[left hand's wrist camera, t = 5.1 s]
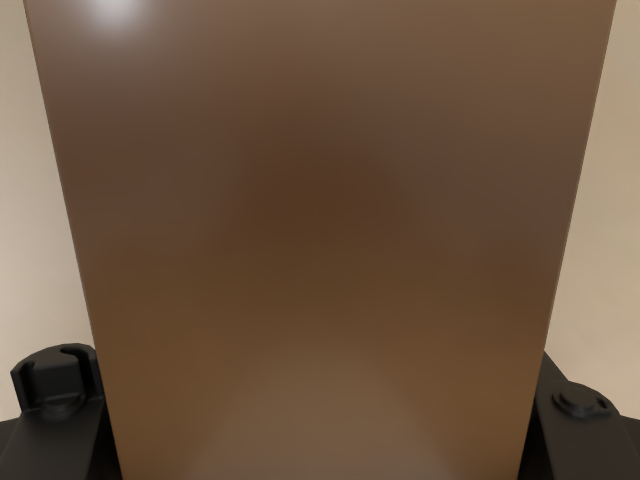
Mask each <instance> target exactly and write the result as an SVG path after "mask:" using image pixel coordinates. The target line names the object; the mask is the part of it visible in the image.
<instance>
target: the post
mask: <svg viewBox="0 0 640 480" xmlns="http://www.w3.org/2000/svg"><path fill="white" fill-rule="evenodd" d="M23 3H24V8H25V13H26V17H27V22H28V27H29V32H30V37H31V41H32V46H33V51H34V56H35V61H36V65H37V70H38V75H39V80H40V85H41V89H42V94H43V99H44V104H45V109H46V114H47V118H48V123H49V128H50V133H51V138H52V142H53V147H54V152H55V157H56V162H57V166H58V171H59V176H60V181H61V186H62V191H63V195H64V200H65V205H66V210H67V215H68V219H69V224H70V229H71V234H72V239H73V243H74V248H75V253H76V258H77V263H78V267H79V272H80V277H81V282H82V287H83V292H84V296H85V301H86V306H87V311H88V316H89V320H90V325H91V330H92V335H93V340H94V344H95V349H96V354H97V359H98V364H99V369H100V373H101V378H102V383H103V388H104V393H105V397H106V402H107V407H108V412H109V417H110V421H111V426H112V431H113V436H114V441H115V446H116V450H117V455H118V460H119V465H120V470H121V474H122V479H123V480H517V477H518V473H519V468H520V463H521V458H522V453H523V449H524V444H525V439H526V434H527V429H528V424H529V420H530V415H531V410H532V405H533V400H534V396H535V391H536V386H537V381H538V376H539V371H540V367H541V362H542V357H543V352H544V347H545V343H546V338H547V333H548V328H549V323H550V318H551V314H552V309H553V304H554V299H555V294H556V290H557V285H558V280H559V275H560V270H561V265H562V261H563V256H564V251H565V246H566V241H567V237H568V232H569V227H570V222H571V217H572V212H573V208H574V203H575V198H576V193H577V188H578V184H579V179H580V174H581V169H582V164H583V159H584V155H585V150H586V145H587V140H588V135H589V131H590V126H591V121H592V116H593V111H594V106H595V102H596V97H597V92H598V87H599V82H600V78H601V73H602V68H603V63H604V58H605V53H606V49H607V44H608V39H609V34H610V29H611V25H612V20H613V15H614V10H615V5H616V0H23Z"/></svg>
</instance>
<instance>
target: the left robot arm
mask: <svg viewBox="0 0 640 480" xmlns="http://www.w3.org/2000/svg"><path fill="white" fill-rule="evenodd" d="M10 374H11V377H12V381H13V384H14V387H15V391H16V394H17V398H18V401H19V404H20V408H21V411H22V412H21V415H20V417H18V418H15V419H11V420H7V421H2V422H0V480H123V479H122V474H121V470H120V465H119V460H118V455H117V450H116V446H115V441H114V436H113V431H112V426H111V421H110V417H109V412H108V407H107V402H106V397H105V393H104V388H103V383H102V378H101V373H100V369H99V364H98V359H97V354H96V350H94V349H93V348H92V347H91V346H89V345H84V344H79V343H73V344H61V345H57V346H53V347H48V348H46V349H43V350H41V351H38V352H36V353H33V354H31V355H30V356H28V357H27V358H25V359H23V360H22V361H20V362H19V363H18V364H17V365H16V366H15V367H14V368H13V369H12V370H11V372H10ZM517 480H640V420H638V419H633V418H629V417H625V416H622V415H620V414H619V412H618V410H617V409H616V408H615V406H614V405H613V404H612V402H611V401H610V400H608V399H607V398H606V397H604V396H603V395H602V394H600V393H599V392H597V391H595V390H593V389H591V388H589V387H587V386H585V385H582V384H578V383H575V382H571V381H568V380H567V378H566V377H565V376H564V375H563V373H562V372H561V371H560V370H559V368H558V367H557V366H556V365H555V364H554V362H553V361H552V360H551V359H550V357H549V356H548V355H547V354H546V352H545V351H544V352H543V357H542V362H541V367H540V371H539V376H538V381H537V386H536V391H535V396H534V400H533V405H532V410H531V415H530V420H529V424H528V429H527V434H526V439H525V444H524V449H523V453H522V458H521V463H520V468H519V473H518V477H517Z"/></svg>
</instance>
